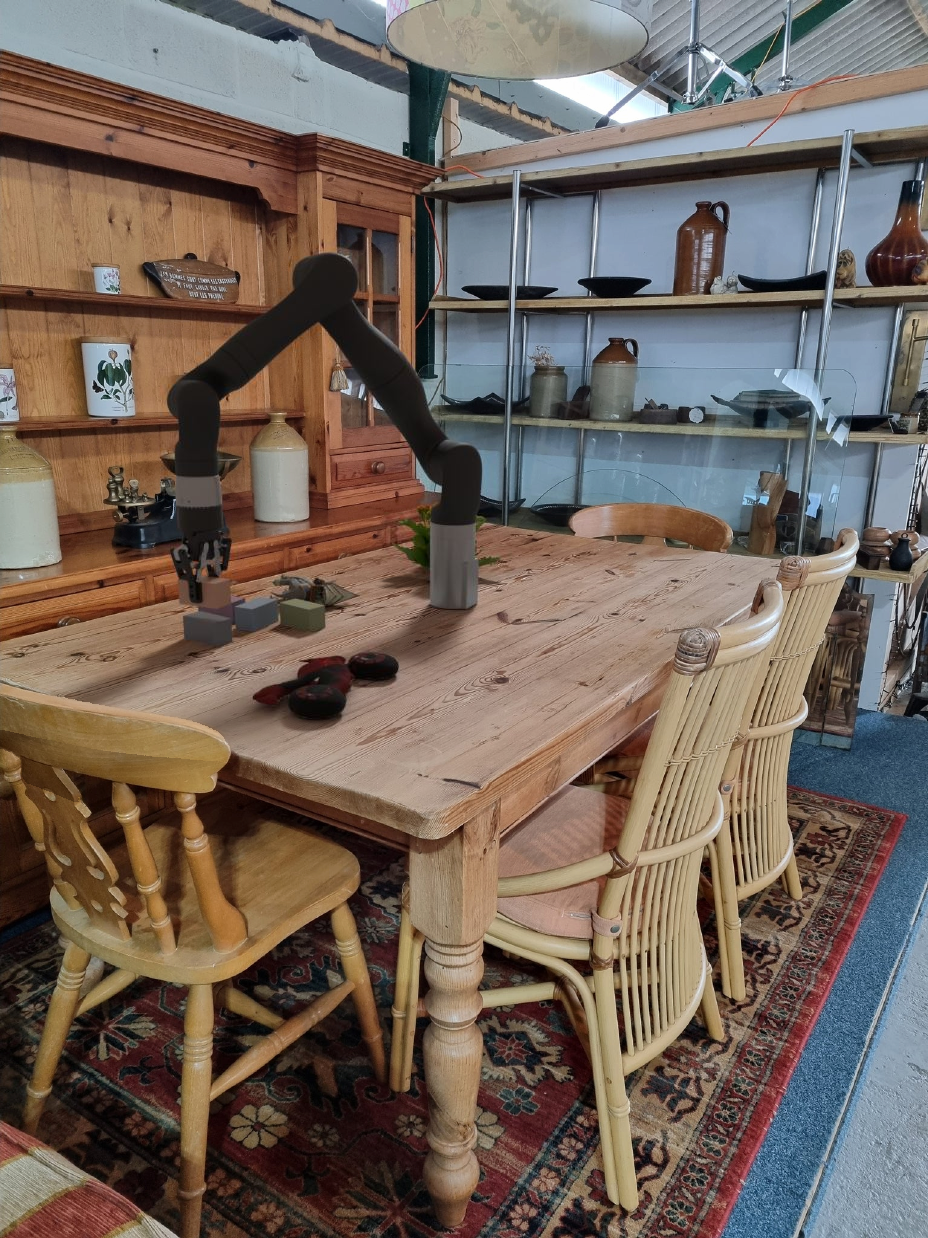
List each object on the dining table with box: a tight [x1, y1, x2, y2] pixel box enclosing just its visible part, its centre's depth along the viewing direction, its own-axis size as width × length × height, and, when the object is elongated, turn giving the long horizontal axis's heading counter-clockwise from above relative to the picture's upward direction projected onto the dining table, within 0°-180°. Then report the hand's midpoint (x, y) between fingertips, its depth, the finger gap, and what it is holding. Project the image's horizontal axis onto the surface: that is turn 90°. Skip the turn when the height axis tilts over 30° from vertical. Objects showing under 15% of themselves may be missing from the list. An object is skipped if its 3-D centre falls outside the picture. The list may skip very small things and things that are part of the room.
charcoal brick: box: [182, 611, 233, 648], centre depth 154 cm, size 8×4×4 cm, turn 56°
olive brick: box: [279, 599, 326, 633], centre depth 164 cm, size 8×4×4 cm, turn 53°
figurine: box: [269, 573, 361, 607], centre depth 180 cm, size 20×6×17 cm
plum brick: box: [197, 595, 246, 625], centre depth 167 cm, size 8×4×4 cm, turn 67°
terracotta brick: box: [177, 575, 232, 609], centre depth 152 cm, size 8×4×4 cm, turn 67°
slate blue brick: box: [234, 596, 280, 632], centre depth 164 cm, size 8×4×4 cm, turn 158°
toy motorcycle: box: [251, 651, 400, 720], centre depth 131 cm, size 25×5×16 cm
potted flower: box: [391, 502, 504, 571], centre depth 205 cm, size 25×24×18 cm
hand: (205, 599), depth 152 cm, fingers closed on terracotta brick, 4 cm apart
